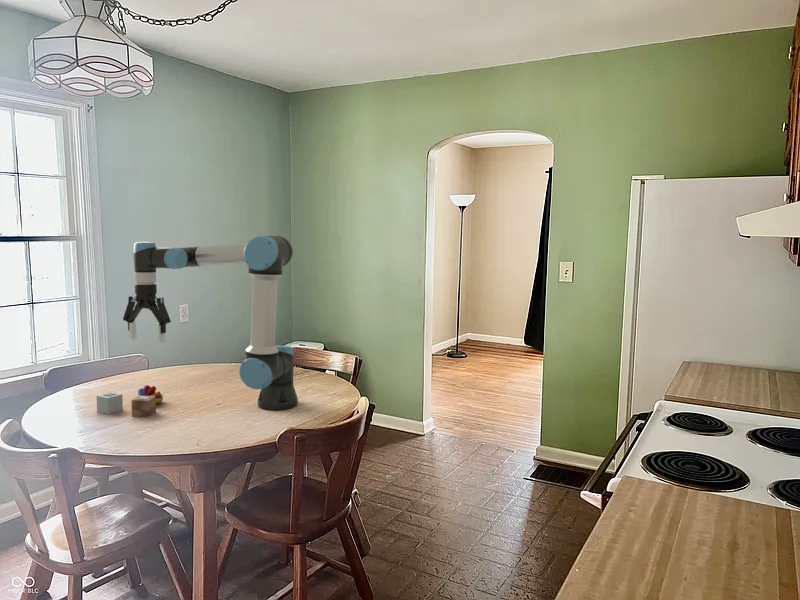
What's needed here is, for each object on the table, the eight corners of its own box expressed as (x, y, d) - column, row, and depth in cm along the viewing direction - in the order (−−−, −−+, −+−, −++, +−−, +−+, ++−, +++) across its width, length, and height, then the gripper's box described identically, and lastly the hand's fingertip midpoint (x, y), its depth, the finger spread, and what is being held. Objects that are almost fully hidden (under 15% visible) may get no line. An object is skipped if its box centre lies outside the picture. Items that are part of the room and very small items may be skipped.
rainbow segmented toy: (153, 408, 220) (153, 389, 219) (130, 406, 222) (129, 387, 221) (166, 402, 228) (166, 383, 227) (144, 400, 230) (143, 381, 229)
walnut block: (156, 412, 215) (155, 395, 215) (148, 417, 209) (148, 400, 209) (139, 411, 216) (139, 395, 215) (131, 416, 210) (131, 399, 209)
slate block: (122, 410, 217) (122, 393, 216) (108, 414, 211) (107, 397, 211) (111, 407, 219) (111, 391, 219) (97, 411, 214) (96, 395, 213)
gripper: (179, 284, 220) (181, 341, 223) (125, 281, 227) (127, 336, 229) (166, 285, 213) (168, 344, 216) (111, 282, 220) (113, 340, 222)
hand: (147, 340), depth 223 cm, fingers open, 12 cm apart
